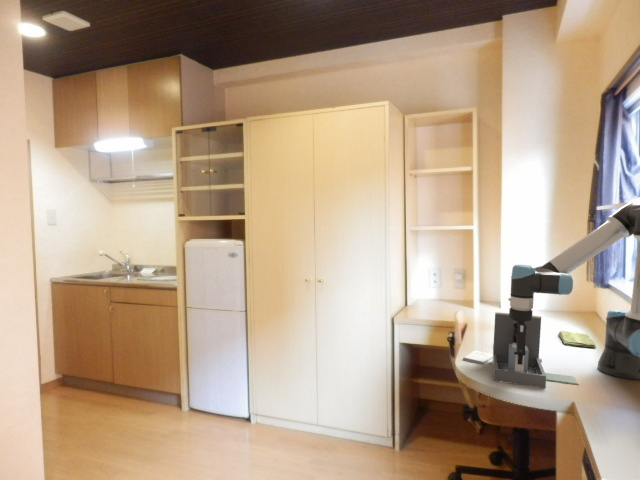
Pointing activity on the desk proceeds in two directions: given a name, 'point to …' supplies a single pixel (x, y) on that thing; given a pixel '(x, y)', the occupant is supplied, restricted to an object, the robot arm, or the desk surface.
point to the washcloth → (576, 339)
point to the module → (512, 357)
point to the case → (501, 351)
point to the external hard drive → (478, 357)
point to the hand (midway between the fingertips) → (517, 366)
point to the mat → (561, 378)
